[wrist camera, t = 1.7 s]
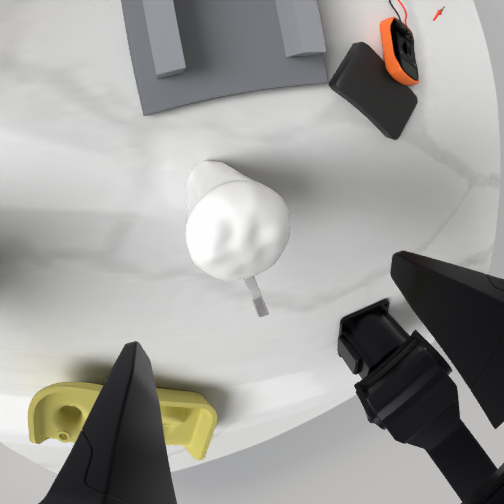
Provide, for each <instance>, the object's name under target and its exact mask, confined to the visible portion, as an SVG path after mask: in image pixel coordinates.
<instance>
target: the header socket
mask: <svg viewBox="0 0 504 504" xmlns="http://www.w3.org/2000/svg"><path fill="white" fill-rule="evenodd" d="M121 2H122V9H123V15H124V21H125V27H126V33H127V39H128V44H129V50H130V55H131V60H132V65H133V70H134V75H135V79H136V84H137V89H138V93H139V98H140V102H141V106H142V111H143V115H144V116H146V115H149V114H152V113H156V112H159V111H163V110H166V109H170V108H174V107H177V106H181V105H185V104H189V103H194V102H198V101H202V100H207V99H211V98H216V97H221V96H226V95H231V94H237V93H243V92H249V91H255V90H262V89H269V88H277V87H285V86H294V85H305V84H318V83H328V82H327V75H326V68H325V62H324V56H323V53H324V52H326V46H325V40H324V34H323V29H322V24H321V19H320V14H319V9H318V5H317V0H121Z"/></svg>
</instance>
